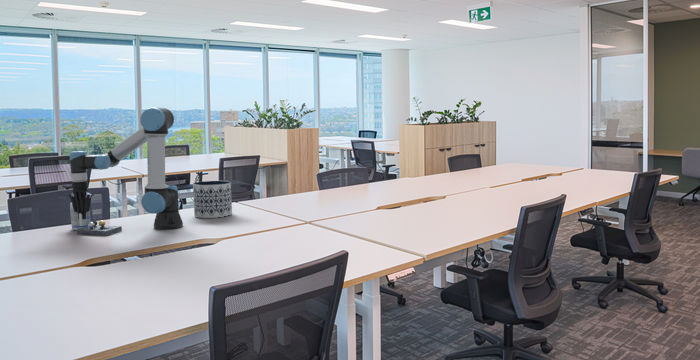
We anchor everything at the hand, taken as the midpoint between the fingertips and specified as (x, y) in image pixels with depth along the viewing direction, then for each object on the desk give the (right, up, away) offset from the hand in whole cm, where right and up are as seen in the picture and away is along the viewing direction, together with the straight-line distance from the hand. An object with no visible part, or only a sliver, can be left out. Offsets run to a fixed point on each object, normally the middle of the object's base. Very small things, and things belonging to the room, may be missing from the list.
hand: (82, 225), depth 280 cm
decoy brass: (+9, +1, +3) cm, 9 cm away
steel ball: (+5, 0, -1) cm, 5 cm away
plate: (+9, -4, 0) cm, 10 cm away
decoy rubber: (+4, +1, +4) cm, 6 cm away
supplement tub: (-6, -3, +10) cm, 12 cm away
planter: (+57, +2, +46) cm, 73 cm away
